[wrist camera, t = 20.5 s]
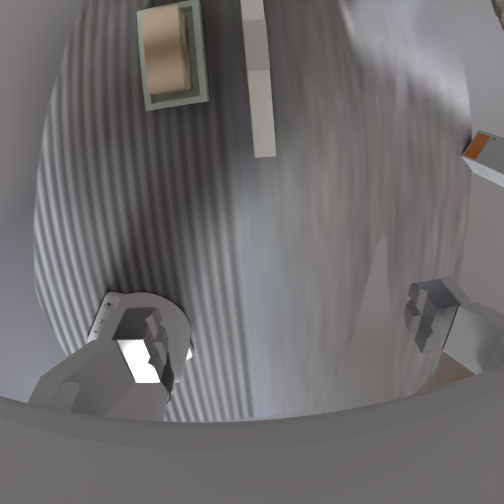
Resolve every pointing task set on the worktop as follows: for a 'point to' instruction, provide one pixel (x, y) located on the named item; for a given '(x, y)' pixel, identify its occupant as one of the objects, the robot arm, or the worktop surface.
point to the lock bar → (166, 51)
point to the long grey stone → (499, 10)
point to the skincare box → (486, 157)
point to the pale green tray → (196, 57)
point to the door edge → (258, 77)
